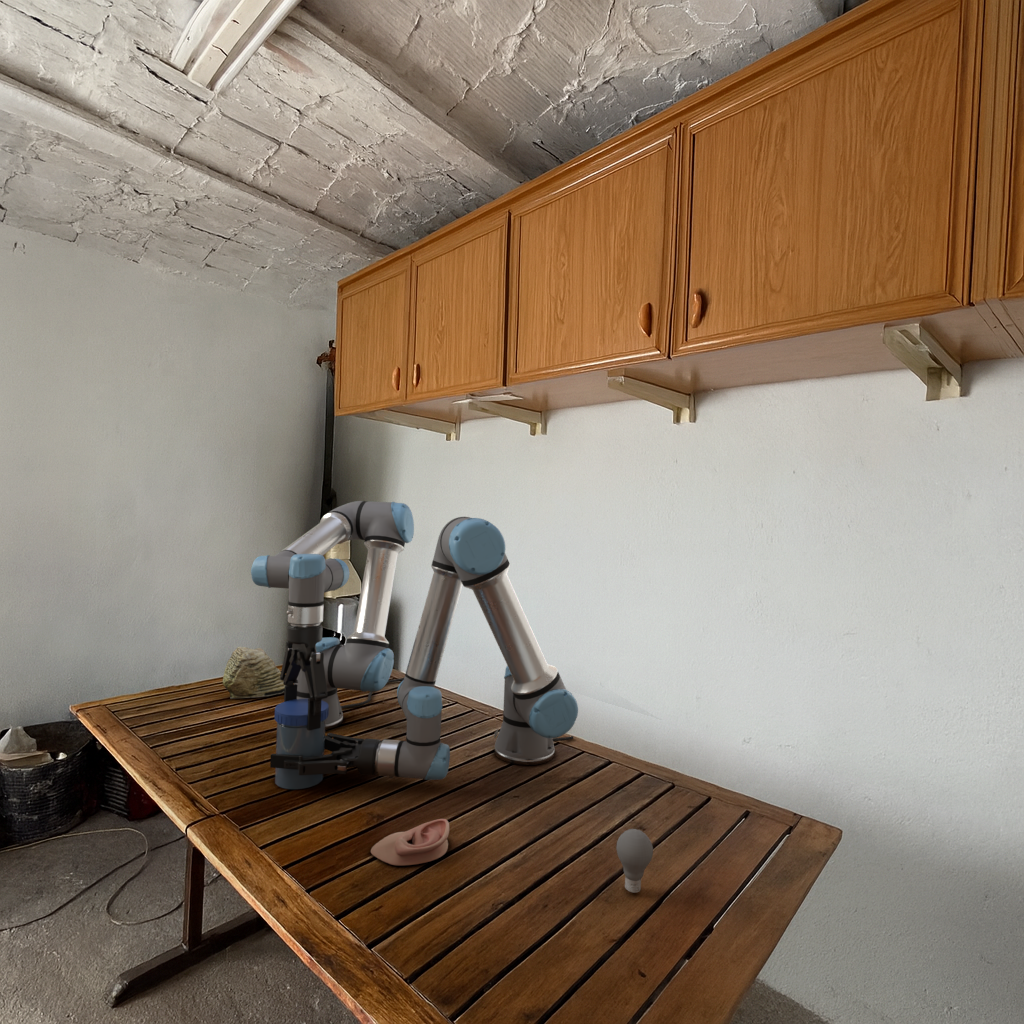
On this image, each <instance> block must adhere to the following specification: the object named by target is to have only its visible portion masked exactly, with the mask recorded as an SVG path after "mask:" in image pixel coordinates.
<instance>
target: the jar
mask: <svg viewBox="0 0 1024 1024" xmlns="http://www.w3.org/2000/svg"><path fill="white" fill-rule="evenodd" d="M325 723H326V719H325V720H323V721H321V727H320V728H318V729H314V730H310V731H308V730H307V725H304V726H289V725H283V724H280V723H278V722H276V736H275V737H276V738H275V754H284V755H298V756H300V755H302V756H303V758H306V757H313V756H320V755H325V750H326V749H325V736H326V730H325ZM324 749H325V750H324ZM298 773H299V770H298V769H284V768H274V784H275V785H276V786H277V787H279V788H282V789H285V790H302V789H308V788H311V787H314V786H316V785H318V784H320V783H321V782H322V781H323V779H324V775H325V774H317V775H298Z"/></svg>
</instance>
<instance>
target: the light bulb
mask: <svg viewBox="0 0 1024 1024" xmlns="http://www.w3.org/2000/svg"><path fill="white" fill-rule="evenodd" d="M615 849H616V854H617V857H618V859H619V861H620V863H621V865H622V867H623V873H624V874H623V875H624V876H625V878H624V888H625V890H627V891H628V892H630V893H634V894H635V893H639V892H640V891H641V889H642V887H641V886H642V879H643V877H644V875H645V871H646V868H647V867H648V866H649V864H650V863H651V861H652V859H653V855H654V847H653V843H652V841H651V838H649V836H648V835H647V834H646V833H645V832H643V831H642V830H641V829H636V828H629V829H627V830H625V831H623V832H622V833H621V834H620V835H619V837H618V839H617V841H616V847H615Z"/></svg>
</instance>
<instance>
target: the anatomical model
mask: <svg viewBox="0 0 1024 1024" xmlns="http://www.w3.org/2000/svg"><path fill="white" fill-rule="evenodd" d="M449 835H450V823H449V821H448V819H446V818H437V819H434V820H430V821H427V822H425V823H421V824H419V825H417V826H415V827H413V828H411V829H407V830H405V831H398V832H393V833H391V834H389V835H387V836H384V837H383V838H382V839H380V840H379V841H377V842H376V843H375V844H374V845H373V846H372V847H371V849H370V853H371V855H372V856H374V858H377V859H378V860H380V861H381V862H383V863H386V864H388V865H392V866H399V867H400V866H412V865H419V864H420V865H421V864H425V863H428V862H432V861H435V860H438V859H439V858H441V857H443V856H444V855H445V854H446V853H447V851H448V849H449V841H448V837H449Z"/></svg>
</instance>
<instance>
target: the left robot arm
mask: <svg viewBox="0 0 1024 1024" xmlns="http://www.w3.org/2000/svg"><path fill="white" fill-rule="evenodd" d="M414 534H415V522H414V516H413V513H412V510H411V508H410V506H409V505H408V504H406V503H403V502H395V501H371V500H370V501H369V500H355V501H351V502H348V503H345V504H342V505H340V506H338V507H335V508H333V509H332V510H329V511H328V512H327V513H325V514H324V515H323V516H322V517H321V519H320V521H319V523H318V524H316V525H315V526H313V527H312V528H311V529H309V530H308V531H307V532H305V533H304V534H303V535H301V536H300V537H298V538H297V539H295V540H294V541H293V542H291V543H290V544H288V545H287V546H286V547H284V548H283V549H282V550H280V551H279V552H278V553H276V554H275V555H269V554H267V555H258V556H257V557H256V558H255V559H254V560H253V562H252V565H251V568H250V575H251V580H252V582H253V583H254V584H255V586H258V587H262V588H263V587H264V588H268V589H271V588H274V589H288V602H287V604H288V605H287V606H288V607H287V608H288V609H287V610H286V613H285V614H286V615H287V622H288V624H287V627H286V640H287V641H285V652H284V657H283V662H282V666H281V669H280V672H281V675H280V680H283V684H284V685H285V690H284V692H283V694H284V695H283V698H284V699H283V702H286V701H289V700H295V699H308V720H307V730H308V731H310V730H314V729H318V728H320V727H321V701H325V702H326V703H328V706H329V707H328V708H329V715H328V717H327V718H326V723H325V731H329V730H332V729H335V728H337V727H339V726H340V725H342V723H343V722H344V714H343V709H349V708H356V707H360V706H365V705H366V704H368V703H369V702H371V701H372V695H373V692H379V691H381V690H382V689H383V688H384V687H385V686H386V685H387V684H391V683H397V682H402V681H403V680H404V677H400V678H395V679H390V677H391V675H392V672H393V668H394V663H395V660H394V658H395V655H394V652H393V650H392V649H391V648H390V647H389V646H390V641H388V640H387V637H386V636H385V635H386V632H387V631H386V630H387V625H388V618H389V611H390V606H391V600H392V593H393V586H394V581H395V575H396V569H397V568H396V567H397V563H398V556H399V554H401V553H402V552H403V551H405V545H406V544H409V543H411V542H412V541H413V539H414V536H415V535H414ZM349 540H350V541H351V540H357V541H358V540H359V541H364V542H363V545H364V546H365V548H366V549H367V555H366V561H365V567H364V572H363V578H362V582H361V589H360V594H359V600H358V607H357V611H356V617H355V623H354V627H353V632H352V633H351V634H350V635H348V636H347V638H346V641H345V644H340V643H341V641H340V639H339V638H338V637H334V636H331V637H330V636H329V637H323V630H324V629H323V628H324V627H323V624H322V623H323V622H324V609H325V608H324V605H325V604H324V598H325V593H328V592H329V593H330V592H332V591H337V590H339V589H340V588H343V587H344V586H346V584H347V583H348V581H349V579H350V569H349V568H350V567H349V566H348V564H347V563H346V562H345V561H344V560H342V559H340V558H331V557H329V558H327V559H326V558H325V556H324V555H326V554H327V553H328V552H329V551H330V550H332V549H333V548H334V547H336V545H341V544H343V543H346V542H347V541H349ZM338 689H339V690H340V689H341V690H351V691H359V692H365V693H366V692H369V693H368V695H367V699H366V700H363V701H361V702H356V703H351V704H344V705H341V702H340V699H339V695H338Z"/></svg>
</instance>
